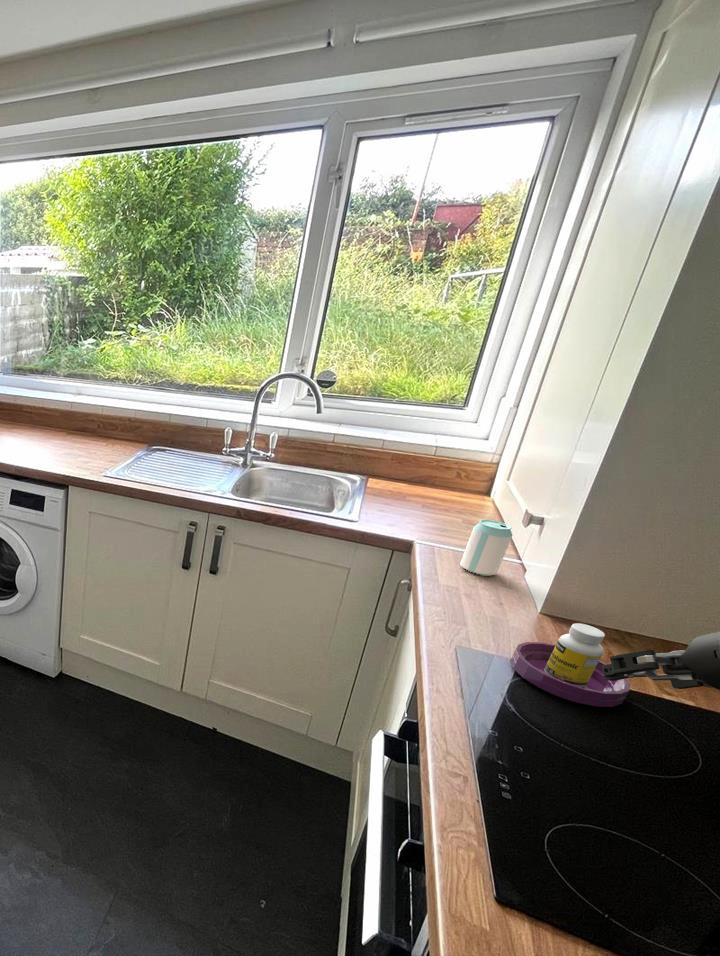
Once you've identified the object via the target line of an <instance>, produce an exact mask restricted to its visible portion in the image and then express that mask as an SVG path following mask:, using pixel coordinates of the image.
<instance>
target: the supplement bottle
mask: <svg viewBox="0 0 720 956" xmlns="http://www.w3.org/2000/svg"><path fill="white" fill-rule="evenodd" d="M605 636H606V634H605V632H604V631H602V630H600V629H599V628H596V627H594V626H591V625H588V624H585V623H580V622H579V623H577V622H576V623H572V625H571V626H570V628H569V630H568V633H565V634H562V635H560V637H559V638H558V640H557V642H556V644H555V645H556V646H555V648H554V650H553V652H552V654H551V656H550V658H549V660H548V662H547V665H546V667H545V669H544V671H545V673H546V674H548V675H550V676H552V677H555V678H557V679H559V680H562V681H564V682H567V683H570V684H573V685H576V686H580V687H584V686H586V685H587V683H588V681H589V679H590V677H591V675H592V673H593V671H594V669H595V668H596V666H597V664H598V662H599V660H600V661H601V658H602V657H603V654H604V647H603V646H602V642H603V641H604V639H605Z"/></svg>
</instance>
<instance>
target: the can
mask: <svg viewBox="0 0 720 956" xmlns="http://www.w3.org/2000/svg"><path fill="white" fill-rule="evenodd" d="M512 538H513V532H512V526H511V525H509V524H507V523H505V522H501V521H498V520H493V519H481V520H480V521H479V522H478V523H477V524H476V525H474V526H473V529H472V531H471V533H470V536H469V539H468V542H467V545H466V547H465V550H464V553H463V555H462V557H461V560H460V563H459V565H460V566H461V568H463V569H464V568H465V569H466V570H465V569H464V570H465V571H466V572H468V573H471V572H473V573H472V574H474V573H476V574H474V575H477V576H483V577H491V576H494V575H497V574H498V572H499V570H500V567H501V565H502V563H503V560H504V557H505V555H506V553H507V550H508V548H509V545H510V543H511V541H512ZM467 570H468V571H467ZM469 571H471V572H469ZM478 574H480V575H478Z"/></svg>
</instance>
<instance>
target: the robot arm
mask: <svg viewBox="0 0 720 956" xmlns="http://www.w3.org/2000/svg"><path fill="white" fill-rule="evenodd" d="M609 661H610V663H606V665H603V667H602V670H603V675H604V678H605V679H606V680H612V681H614V680H620V679H633V678H648V679H650V680H652V681H670V683H671V686H672V688H673V689H677V690H687V689H692V688H700V687H704V688H709V689H712V688H714V689H715V690H718V691H720V631H719V630H718V631H714V632H710V633H706V634H705V633H704V634H702V635H698V636H696V637H694V638H693V639H692V640H691V641H690V642H689V644H688V645H687V647H686V649H684V650H683V649H682V650H672V651H670V652H659V653H657V652H656V651H655V650H654V649H651V648H646V649H641V650H637V651H631V652H626V653H620V654H615V655H610V656H609ZM660 666H661V668H662V672H663V674H658V672H657V670H660Z"/></svg>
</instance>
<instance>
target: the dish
mask: <svg viewBox="0 0 720 956" xmlns="http://www.w3.org/2000/svg"><path fill="white" fill-rule="evenodd" d="M555 646H556V644H554V643H547V642H543V641H542V642H541V641H526V642H522V643H518V645H517V646H516V647H515V650H514V652H513V654H512V656H511V659H510V660H509V661H510V665H511V666H512V669H513V670H514V671H515V672H516V673H517V674H518V675H520V677H521V678H522V679H524V680H526V681H528V682H529V683H530V684H532V685H534V686H535V687H537V688H538V689H540V690H542V691H544V692H546V693H548V694H551V695H553V696H555V697H558V698H561V699H564V700H566V701H570V702H573V703H577V704H580V705H587V706H591V707H598V708H614V707H616V706H619V705H622V704H623V703H624V701H625V699H626V698H627V696H628V694H629V692H630V688H631V683H630V682H629V680H628V678H626V679H620V680H614V681H612V680H606V679H605V678H604V675H603V670H602V667H603V665H606V664H607V663H606V662H604V661H602V660H601V659H600V660H599V662H598V664H597V666H596V668H595V669H594V671H593V673H592V675H591V677H590V679H589V681H588V683H587V685H586V686H584V687H580V686H576V685H573V684H570V683H567V682H564V681H562V680H559V679H557V678H555V677H552V676H550V675H548V674H546V673H545V671H544V669H545V667H546V665H547V662H548V660H549V658H550V656H551V654H552V652H553V650H554V648H555Z"/></svg>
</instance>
